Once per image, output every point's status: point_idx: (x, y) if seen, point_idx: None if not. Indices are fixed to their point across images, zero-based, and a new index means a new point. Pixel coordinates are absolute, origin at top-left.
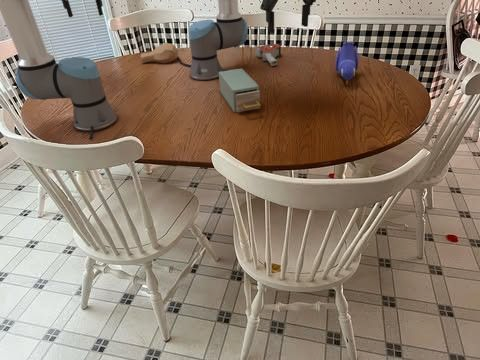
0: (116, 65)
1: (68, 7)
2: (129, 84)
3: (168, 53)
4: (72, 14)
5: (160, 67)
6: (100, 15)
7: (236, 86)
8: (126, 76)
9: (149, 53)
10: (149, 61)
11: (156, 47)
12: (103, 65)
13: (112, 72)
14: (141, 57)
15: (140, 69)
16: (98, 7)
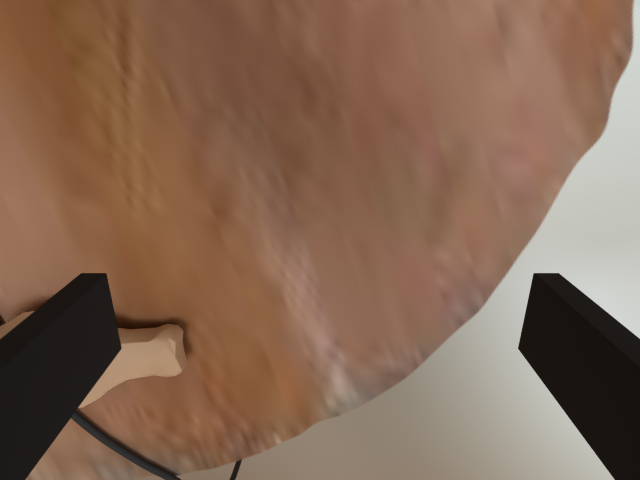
0: (310, 319)
1: (610, 378)
2: (136, 27)
3: (4, 329)
4: (528, 355)
5: (71, 263)
6: (88, 273)
7: None
8: (201, 157)
9: (127, 359)
10: (145, 328)
11: (88, 397)
12: (376, 328)
13: (298, 226)
14: (171, 338)
15: (165, 249)
16: (11, 335)
